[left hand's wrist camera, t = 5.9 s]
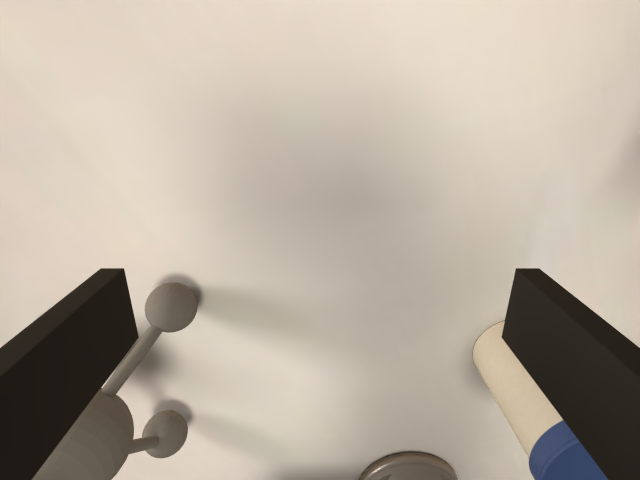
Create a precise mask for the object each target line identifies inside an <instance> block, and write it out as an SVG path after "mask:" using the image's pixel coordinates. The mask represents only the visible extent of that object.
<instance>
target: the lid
mask: <svg viewBox="0 0 640 480" xmlns="http://www.w3.org/2000/svg"><path fill="white" fill-rule="evenodd" d="M529 467H530V471H531V474H532V475H533V477H534V479H535V480H608V479H607V477H606V476H605V475H604V473H603V472H602V471H601V469H600V468H599V467H598V465H597V464H596V463H595V461H594V460H593V459H592V457H591V456H590V455H589V453H588V452H587V451H586V449H585V448H584V447H583V445H582V444H581V443H580V441H579V440H578V439H577V437H576V436H575V435H574V433H573V432H572V431H571V429H570V428H569V427H568V425H567V424H566V423H565V421H564V420H562V421H560V422H558V423H557V424H555V425H554V426H552V427H551V428H549V429H548V430H547V431H546V432H545V433H544V434H543V435H541V436H540V438H539V439H538V440H537V441H536V443H535V445H534V446H533V448H532V450H531V453H530V457H529Z"/></svg>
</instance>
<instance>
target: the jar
mask: <svg viewBox="0 0 640 480" xmlns="http://www.w3.org/2000/svg"><path fill="white" fill-rule="evenodd" d="M504 323H505V321H502V322H500V323H497V324H495V325H493V326H491V327H490V328H488V329H487V330H486V331H485V332H484V333H483V334H482V335H481V336H480V337H479V338H478V340H477V342H476V344H475V346H474V349H473V361H474V364H475V366H476V367H477V369H478V371H479V373H480V374H481V376H482V378H483V380H484V381H485V383H486V385H487V386H488V388H489V390H490V392H491V393H492V395H493V397H494V399H495V400H496V402H497V404H498V406H499V407H500V409H501V411H502V413H503V414H504V416H505V418H506V419H507V421H508V423H509V425H510V426H511V428H512V430H513V432H514V433H515V435H516V437H517V439H518V440H519V442H520V444H521V446H522V447H523V449H524V451H525V452H526V454H527V456H528V458H529V457H530V453H531V450H532V448H533V446H534V445H535V443H536V441H537V440H538V439H539V438H540V436H541V435H543V434H544V433H545V432H546V431H547V430H548V429H549V428H551V427H552V426H554V425H555V424H557V423H558V422H560V421H562V420H563V419H562V417H561V416H560V415H559V413H558V412H557V411H556V409H555V408H554V407H553V405H552V404H551V403H550V401H549V400H548V399H547V397H546V396H545V395H544V393H543V392H542V391H541V389H540V388H539V387H538V385H537V384H536V383H535V381H534V380H533V379H532V377H531V376H530V375H529V373H528V372H527V371H526V369H525V368H524V367H523V365H522V364H521V363H520V361H519V360H518V359H517V357H516V356H515V355H514V353H513V352H512V351H511V349H510V348H509V347H508V346H507V344H506V343H505V342H504V340H503V339H502V338H501V337H502V332H503V328H504Z"/></svg>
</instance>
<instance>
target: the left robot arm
mask: <svg viewBox="0 0 640 480" xmlns="http://www.w3.org/2000/svg"><path fill="white" fill-rule="evenodd" d="M138 338H139V337H138V332H137V328H136V323H135V318H134V313H133V309H132V304H131V299H130V295H129V290H128V285H127V281H126V276H125V271H124V269H100V270H99V271H97V272H96V273H95V274H93V275H92V276H91V277H90V278H88V279H87V280H86V281H85V282H83V283H82V284H81V285H80V286H78V287H77V288H76V289H74V290H73V291H72V292H71V293H69V294H68V295H67V296H66V297H64V298H63V299H62V300H61V301H59V302H58V303H57V304H55V305H54V306H53V307H52V308H50V309H49V310H48V311H47V312H45V313H44V314H43V315H42V316H40V317H39V318H38V319H36V320H35V321H34V322H33V323H31V324H30V325H29V326H28V327H26V328H25V329H24V330H23V331H21V332H20V333H19V334H17V335H16V336H15V337H14V338H12V339H11V340H10V341H9V342H7V343H6V344H5V345H4V346H2V347H1V348H0V480H32V479H33V477H34V476H35V475H36V473H37V472H38V471H39V469H40V468H41V467H42V465H43V464H44V463H45V461H46V460H47V459H48V457H49V456H50V455H51V453H52V452H53V451H54V449H55V448H56V447H57V445H58V444H59V443H60V441H61V440H62V439H63V437H64V436H65V435H66V433H67V432H68V431H69V429H70V428H71V427H72V425H73V424H74V423H75V421H76V420H77V419H78V417H79V416H80V415H81V413H82V412H83V411H84V409H85V408H86V407H87V405H88V404H89V403H90V401H91V400H92V399H93V397H94V396H95V395H96V393H97V392H98V391H99V389H100V388H101V387H102V385H103V384H104V383H105V381H106V380H107V379H108V377H109V376H110V375H111V373H112V372H113V371H114V369H115V368H116V367H117V365H118V364H119V363H120V361H121V360H122V359H123V357H124V356H125V355H126V353H127V352H128V351H129V349H130V348H131V347H132V345H133V344H134V343H135V341H136V340H137V339H138ZM501 338H502V339H503V340H504V342H505V343H506V344H507V346H508V347H509V348H510V349H511V351H512V352H513V353H514V355H515V356H516V357H517V359H518V360H519V361H520V363H521V364H522V365H523V367H524V368H525V369H526V371H527V372H528V373H529V375H530V376H531V377H532V379H533V380H534V381H535V383H536V384H537V385H538V387H539V388H540V389H541V391H542V392H543V393H544V395H545V396H546V397H547V399H548V400H549V401H550V403H551V404H552V405H553V407H554V408H555V409H556V411H557V412H558V413H559V415H560V416H561V417H562V419H563V420H564V421H565V423H566V424H567V425H568V427H569V428H570V429H571V431H572V432H573V433H574V435H575V436H576V437H577V439H578V440H579V441H580V443H581V444H582V445H583V447H584V448H585V449H586V451H587V452H588V453H589V455H590V456H591V457H592V459H593V460H594V461H595V463H596V464H597V465H598V467H599V468H600V469H601V471H602V472H603V473H604V475H605V476H606V477H607V479H608V480H640V348H639V347H638V346H636V345H635V344H634V343H633V342H631V341H630V340H629V339H628V338H626V337H625V336H624V335H623V334H621V333H620V332H619V331H617V330H616V329H615V328H614V327H612V326H611V325H610V324H609V323H607V322H606V321H605V320H604V319H602V318H601V317H600V316H598V315H597V314H596V313H595V312H593V311H592V310H591V309H590V308H588V307H587V306H586V305H585V304H583V303H582V302H581V301H579V300H578V299H577V298H576V297H574V296H573V295H572V294H571V293H569V292H568V291H567V290H566V289H564V288H563V287H562V286H560V285H559V284H558V283H557V282H555V281H554V280H553V279H552V278H550V277H549V276H548V275H547V274H545V273H544V272H543V271H541V270H540V269H516V271H515V276H514V281H513V285H512V290H511V295H510V299H509V304H508V309H507V313H506V318H505V323H504V328H503V332H502V337H501ZM360 480H458V479H457V476H456V474H455V472H454V470H453V469H452V468H451V466H450V465H448V464H447V463H446V462H445V461H443V460H441V459H440V458H437V457H435V456H432V455H429V454H424V453H416V452H408V453H399V454H394V455H391V456H388V457H385V458H383V459H381V460H379V461H377V462H375V463H374V464H372V465H371V466H370V467H369V468H368V469H367V470H366V471H365V472H364V473H363V474H362V476H361V478H360Z"/></svg>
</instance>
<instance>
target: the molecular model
mask: <svg viewBox="0 0 640 480" xmlns="http://www.w3.org/2000/svg"><path fill="white" fill-rule="evenodd" d="M196 312H197V300H196V297H195V295H194V293H193V292H192V291H191V290H190V289H189V288H188V287H186V286H185V285H182V284H179V283H167V284H164V285H161V286H159V287H157V288H156V289H155V290H153V291H152V292H151V293H150V295H149V297H148V298H147V301H146V304H145V314H146V318H147V320H148V321H149V323H150V324H151V326H150V327H149V329H148V330H147V331H146V333H145V334H144V335H143V336H142V338H141V339H140V340H139V342H138V343H137V344H136V346H135V347H134V348H133V349H132V351H131V352H130V353H129V355H128V356H127V357H126V359H125V360H124V361H123V363H122V364H121V365H120V366H119V368H118V369H117V370H116V372H115V373H114V374H113V376H112V377H111V378H110V379H109V381H108V382H107V383H106V385H105V386H104V387H103V388H100V389H99V391H98V392H97V393H96V395H95V396H94V397H93V399H92V400H91V401H90V403H89V404H88V405H87V407H86V408H85V409H84V411H83V412H82V413H81V415H80V416H79V417H78V419H77V420H76V421H75V423H74V424H73V425H72V427H71V428H70V429H69V431H68V432H67V433H66V435H65V436H64V437H63V439H62V440H61V441H60V443H59V444H58V445H57V447H56V448H55V449H54V451H53V452H52V453H51V455H50V456H49V457H48V459H47V460H46V461H45V463H44V464H43V465H42V467H41V468H40V469H39V471H38V472H37V473H36V475H35V476H34V477H33V479H32V480H111V479H112V478H113V477H114V476H115V475H116V474H117V473H118V471H119V470H120V468H121V467H122V465H123V464H124V462H125V461H126V459H127V456H128V454H132V453H136V452H140V451H144V450H145V451H146V452H147V453H148V454H149V455H151V456H153V457H155V458H166V457H169V456H171V455H173V454H175V453H176V452H177V451H179V450H180V448H181V447H182V446H183V444H184V442H185V440H186V438H187V433H188V427H187V423H186V420H185V419H184V417H183V416H182V415H181V414H179V413H178V412H175V411H170V410H167V411H162V412H159V413H158V414H156V415H154V416H153V417H152V418H151V419H150V420H149V421H148V422H147V424H146V425H145V427H144V430H143V433H142V438H139V439H134V440H133V436H134V425H133V419H132V415H131V413H130V411H129V408H128V406H127V405H126V404H125V402H124V401H123V400H122V399H121V398H120V397H119V396H117V395H116V393H117V392H118V391H119V389H120V388H121V387H122V385H123V384H124V383H125V381H126V380H127V379H128V377H129V376H130V374H131V373H132V372H133V370H134V369H135V368H136V366H137V365H138V364H139V362H140V361H141V360H142V358H143V357H144V356H145V354H146V353H147V352H148V350H149V349H150V347H151V346H152V345H153V343H154V342H155V341H156V339H157V338H158V337H159V335H160V334H161V333H162V331H163V332H176V331H179V330H182V329H184V328H185V327H187V326H188V325H189V324H190V323H191V322H192V321H193V319H194V317H195V315H196Z"/></svg>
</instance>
